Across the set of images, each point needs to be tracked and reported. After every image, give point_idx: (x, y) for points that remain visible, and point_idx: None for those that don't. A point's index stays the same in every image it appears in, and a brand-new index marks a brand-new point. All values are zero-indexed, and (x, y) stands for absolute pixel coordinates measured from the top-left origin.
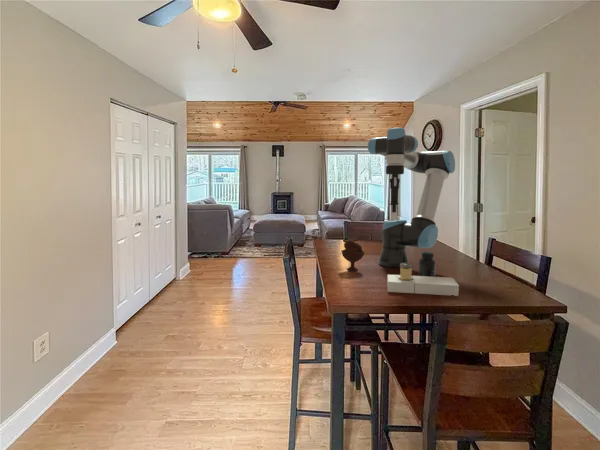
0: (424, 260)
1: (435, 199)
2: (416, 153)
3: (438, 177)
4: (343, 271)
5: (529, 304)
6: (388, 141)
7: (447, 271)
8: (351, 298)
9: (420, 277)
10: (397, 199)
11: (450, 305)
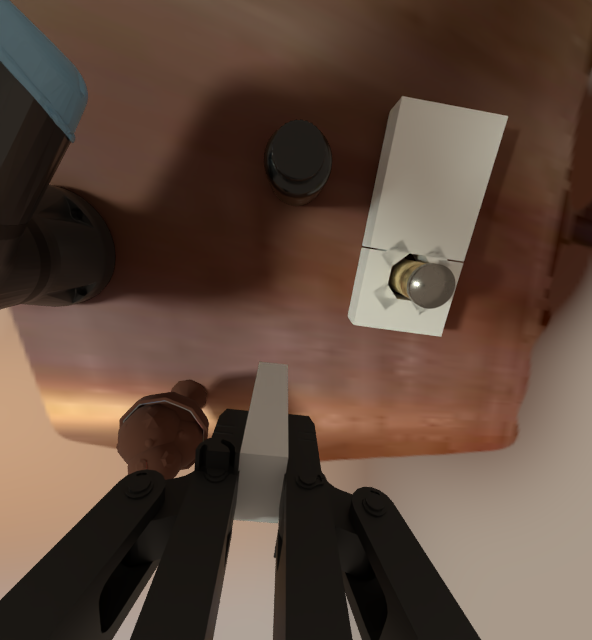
0: (320, 180)
1: None
2: None
3: None
4: (209, 420)
5: None
6: None
7: (139, 32)
8: (472, 413)
9: (394, 224)
10: (427, 556)
11: (561, 188)
